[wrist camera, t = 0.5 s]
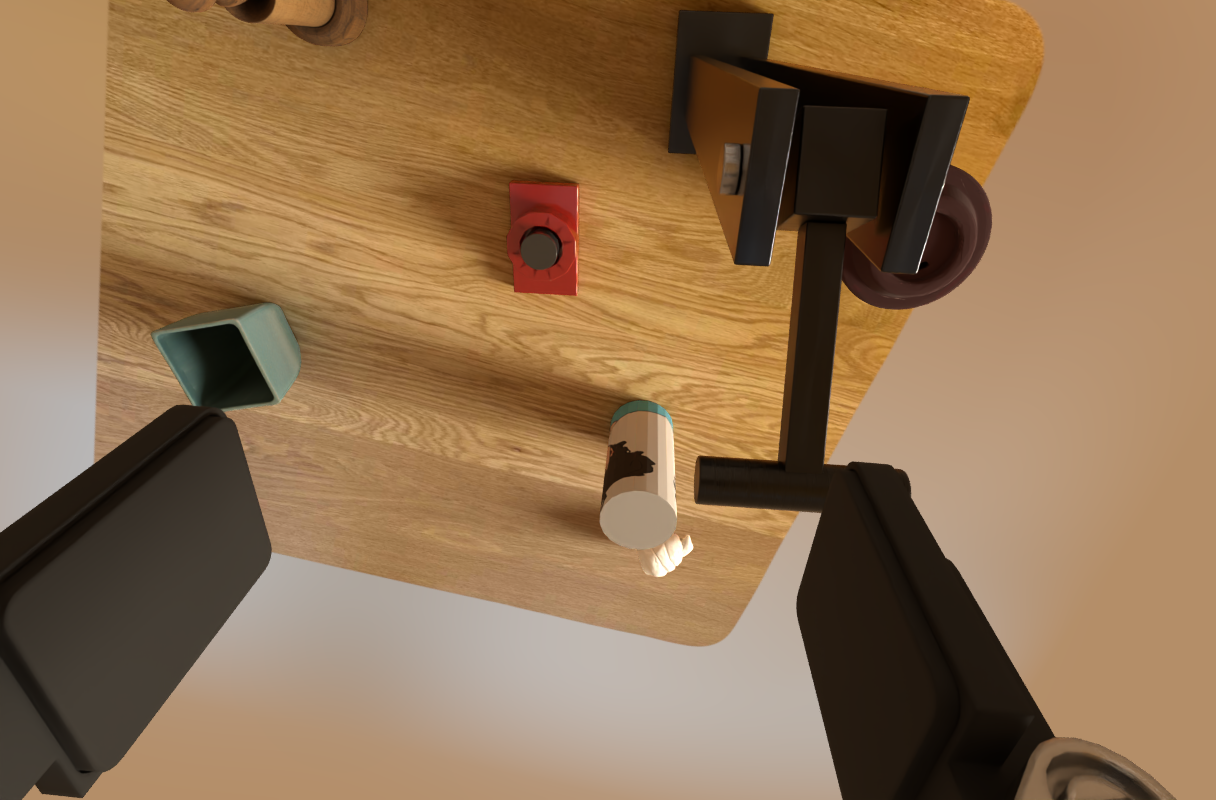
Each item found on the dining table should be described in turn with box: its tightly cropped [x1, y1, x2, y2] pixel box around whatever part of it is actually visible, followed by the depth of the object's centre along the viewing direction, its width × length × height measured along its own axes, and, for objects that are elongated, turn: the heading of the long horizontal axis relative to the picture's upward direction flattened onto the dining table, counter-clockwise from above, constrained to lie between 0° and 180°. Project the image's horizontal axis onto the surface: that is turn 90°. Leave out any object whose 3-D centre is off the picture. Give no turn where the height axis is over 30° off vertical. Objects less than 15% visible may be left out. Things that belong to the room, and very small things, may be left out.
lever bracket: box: [668, 10, 970, 274], centre depth 32 cm, size 10×7×39 cm
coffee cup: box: [842, 165, 992, 309], centre depth 46 cm, size 10×10×15 cm
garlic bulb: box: [637, 533, 693, 577], centre depth 71 cm, size 6×6×5 cm
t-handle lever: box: [694, 106, 911, 513], centre depth 18 cm, size 11×6×2 cm, turn 178°
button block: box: [507, 180, 579, 296], centre depth 55 cm, size 10×6×3 cm, turn 178°
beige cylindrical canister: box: [600, 400, 677, 550], centre depth 60 cm, size 7×7×15 cm
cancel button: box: [520, 228, 560, 270], centre depth 53 cm, size 3×3×2 cm
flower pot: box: [151, 302, 301, 412], centre depth 59 cm, size 9×9×9 cm
